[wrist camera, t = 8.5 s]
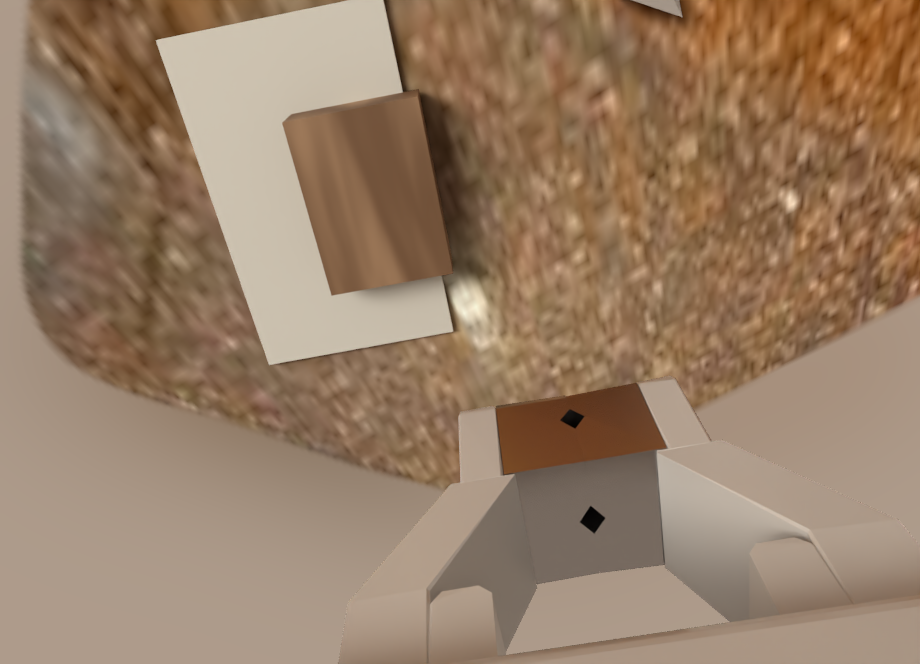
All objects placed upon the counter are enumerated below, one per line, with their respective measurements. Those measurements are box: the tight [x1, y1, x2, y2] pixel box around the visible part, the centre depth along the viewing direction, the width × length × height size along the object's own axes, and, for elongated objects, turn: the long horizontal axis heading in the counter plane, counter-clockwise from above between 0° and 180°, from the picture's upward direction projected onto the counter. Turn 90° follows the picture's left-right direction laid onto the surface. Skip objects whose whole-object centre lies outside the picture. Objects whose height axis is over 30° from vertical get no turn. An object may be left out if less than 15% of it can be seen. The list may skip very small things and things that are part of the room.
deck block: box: [282, 89, 453, 296], centre depth 36 cm, size 2×9×6 cm
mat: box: [156, 0, 453, 365], centre depth 38 cm, size 11×18×1 cm, turn 11°
